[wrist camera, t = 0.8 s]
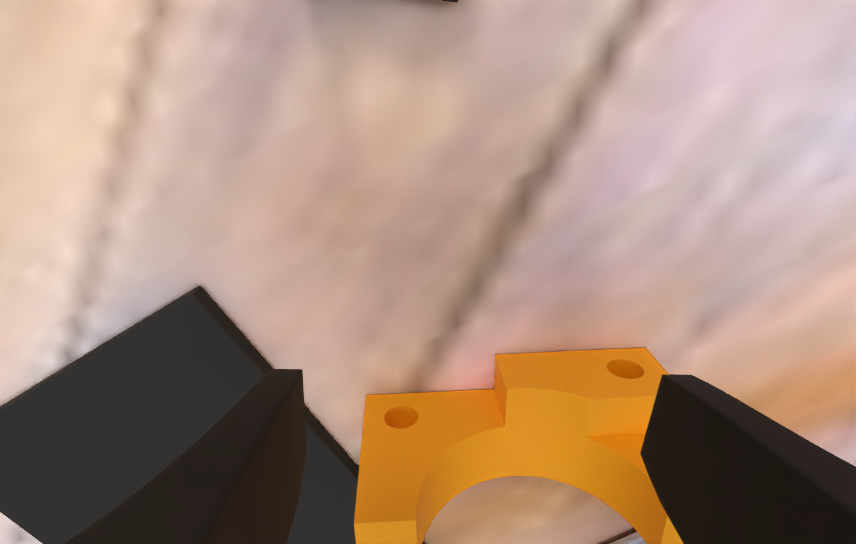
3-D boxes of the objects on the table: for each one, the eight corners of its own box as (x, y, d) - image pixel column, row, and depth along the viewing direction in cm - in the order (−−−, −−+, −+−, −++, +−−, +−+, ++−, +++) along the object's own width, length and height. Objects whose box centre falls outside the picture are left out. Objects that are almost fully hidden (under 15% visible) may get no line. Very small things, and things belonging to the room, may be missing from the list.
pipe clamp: (645, 347, 21) (741, 459, 15) (631, 428, 23) (712, 556, 17) (363, 360, 21) (349, 481, 15) (370, 442, 23) (359, 579, 17)
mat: (455, 577, 26) (456, 592, 26) (241, 673, 29) (237, 689, 28) (200, 284, 19) (192, 293, 18) (-61, 442, 21) (-77, 456, 21)
